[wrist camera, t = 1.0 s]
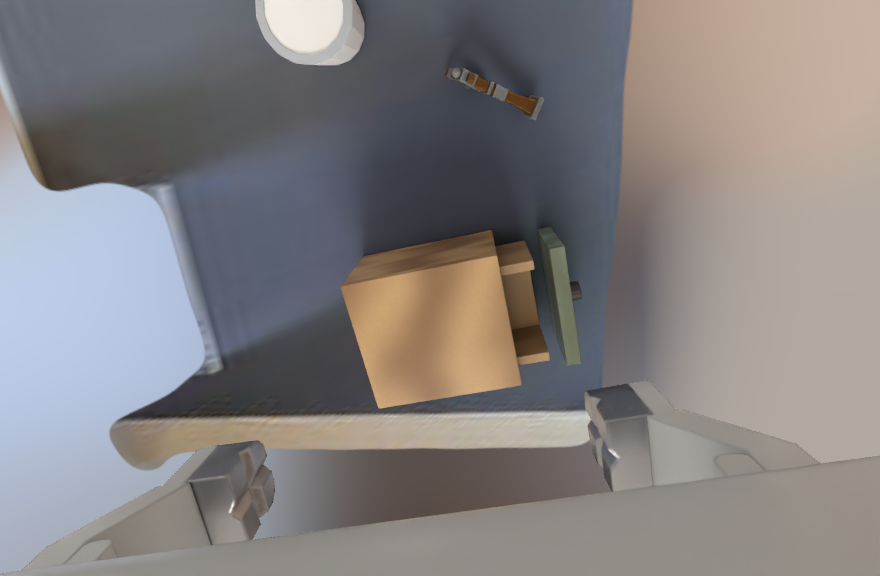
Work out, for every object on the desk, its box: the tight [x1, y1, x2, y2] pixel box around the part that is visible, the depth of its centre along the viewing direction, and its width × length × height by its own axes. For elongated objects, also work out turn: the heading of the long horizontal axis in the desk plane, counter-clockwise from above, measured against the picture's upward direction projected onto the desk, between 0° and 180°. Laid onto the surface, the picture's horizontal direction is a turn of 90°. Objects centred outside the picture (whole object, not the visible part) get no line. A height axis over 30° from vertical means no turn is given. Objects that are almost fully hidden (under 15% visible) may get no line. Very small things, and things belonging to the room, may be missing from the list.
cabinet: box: [341, 230, 522, 408], centre depth 43 cm, size 13×12×9 cm
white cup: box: [255, 0, 364, 65], centre depth 36 cm, size 7×7×7 cm
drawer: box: [495, 227, 581, 365], centre depth 42 cm, size 13×10×7 cm
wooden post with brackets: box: [445, 67, 544, 120], centre depth 39 cm, size 2×8×4 cm, turn 69°
